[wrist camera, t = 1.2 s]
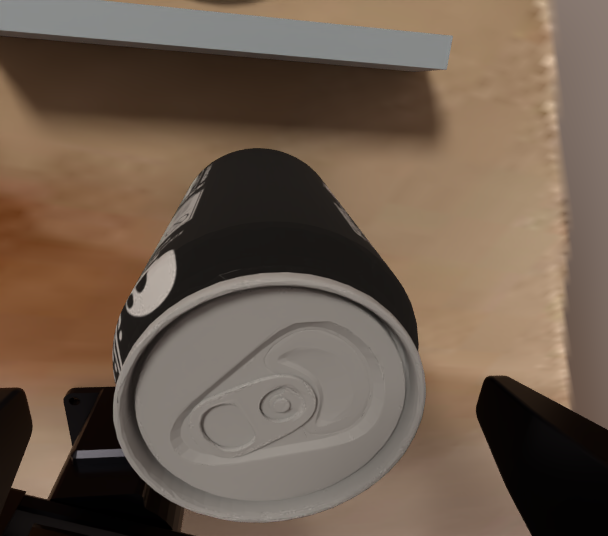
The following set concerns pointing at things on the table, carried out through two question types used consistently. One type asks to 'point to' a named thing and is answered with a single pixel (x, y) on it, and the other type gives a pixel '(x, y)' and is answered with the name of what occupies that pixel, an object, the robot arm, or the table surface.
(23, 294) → the table surface
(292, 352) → the beverage can
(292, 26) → the low wall
